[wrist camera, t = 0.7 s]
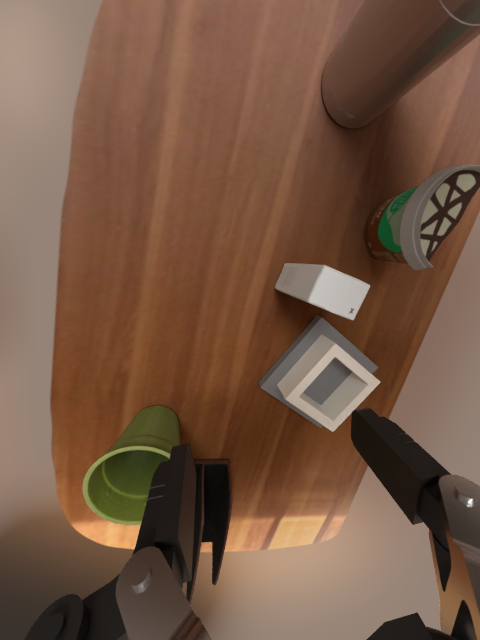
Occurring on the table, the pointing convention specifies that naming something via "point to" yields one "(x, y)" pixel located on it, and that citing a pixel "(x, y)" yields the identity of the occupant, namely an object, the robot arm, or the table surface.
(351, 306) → the skincare box
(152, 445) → the plant pot
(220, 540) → the letter holder
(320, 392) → the box stand
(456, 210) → the food container
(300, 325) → the table surface
